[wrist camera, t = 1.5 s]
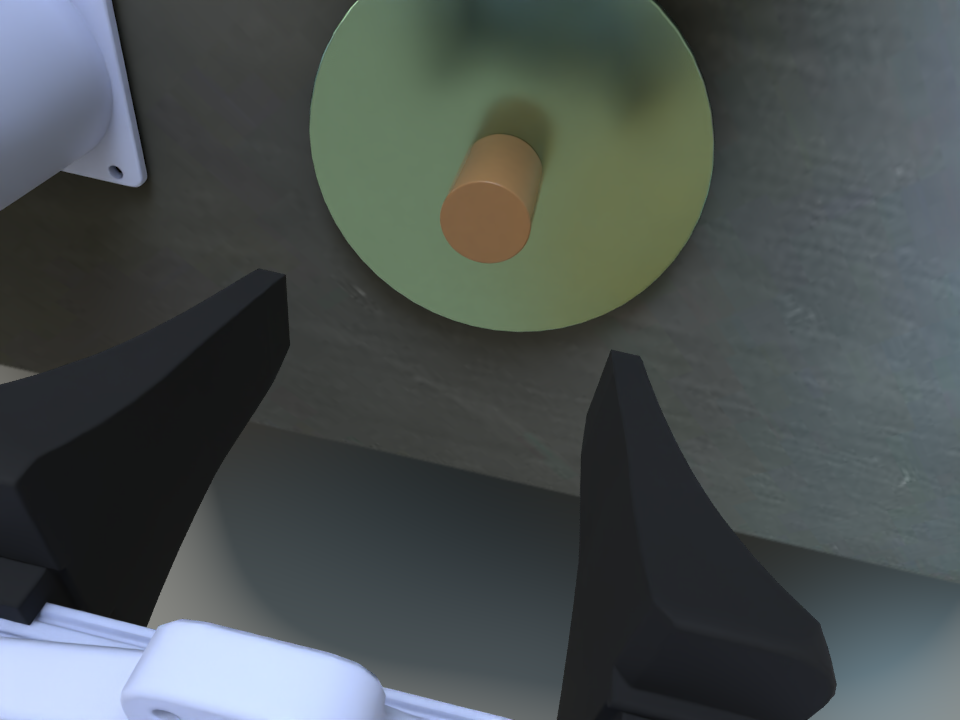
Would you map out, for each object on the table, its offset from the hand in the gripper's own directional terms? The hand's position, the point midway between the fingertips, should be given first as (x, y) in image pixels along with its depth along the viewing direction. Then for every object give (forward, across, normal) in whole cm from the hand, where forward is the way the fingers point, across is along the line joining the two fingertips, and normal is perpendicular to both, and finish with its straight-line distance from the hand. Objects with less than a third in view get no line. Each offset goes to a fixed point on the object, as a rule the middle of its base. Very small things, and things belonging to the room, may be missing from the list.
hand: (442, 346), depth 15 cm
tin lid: (+9, 0, 0) cm, 9 cm away
